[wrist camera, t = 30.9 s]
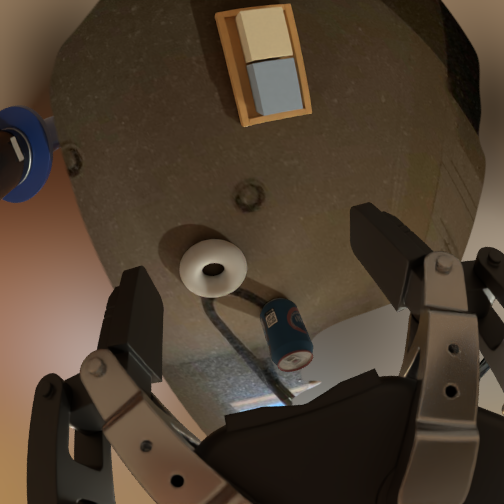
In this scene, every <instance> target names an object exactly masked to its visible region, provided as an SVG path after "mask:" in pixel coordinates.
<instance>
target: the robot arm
mask: <svg viewBox="0 0 504 504" xmlns="http://www.w3.org/2000/svg"><path fill="white" fill-rule="evenodd" d="M32 163H33V151H32V146H31V143H30V141H29V139H28V137H27V135H26V134H25V133H24V132H23V131H22V130H20V129H19V128H16V127H7V128H5V129H2V130H1V131H0V200H1V199H2V198H3V197H4V196H5V195H7V194H8V193H9V192H10V191H11V190H13V189H14V188H15V187H16V186H18V185H19V184H21V183H22V182H23V181H24V180H25V179H26V178H27V177H28V175H29V173H30V171H31V168H32ZM350 243H351V247H352V250H353V253H354V254H355V256H356V257H357V258H358V260H359V261H360V262H361V264H362V265H363V266H364V268H365V269H366V270H367V271H368V273H369V274H370V275H371V277H372V278H373V279H374V281H375V282H376V283H377V285H378V286H379V288H380V289H381V290H382V292H383V293H384V294H385V296H386V297H387V299H388V300H389V301H390V303H391V304H392V306H393V307H394V308H395V310H396V311H397V312H399V311H402V310H404V309H406V308H408V309H409V310H410V316H409V323H408V332H407V339H406V347H405V354H404V359H403V364H402V367H401V370H400V373H399V376H382V377H379V376H378V374H377V372H376V370H375V369H372V370H370V371H367V372H365V373H363V374H360V375H358V376H355V377H353V378H350V379H348V380H345V381H342V382H340V383H339V384H337V385H336V386H334V387H332V388H331V389H329V390H328V391H326V392H325V393H323V394H322V395H320V396H318V397H317V398H315V399H314V400H312V401H310V402H309V403H307V404H304V405H294V406H274V407H260V408H256V409H252V410H247V411H243V412H239V413H234V414H229V415H224V416H225V422H226V425H225V426H223V427H221V428H219V429H217V430H216V431H214V432H213V433H211V434H210V435H209V436H207V437H206V438H205V439H204V440H203V441H200V440H199V439H198V438H197V437H196V436H195V435H193V434H192V433H191V432H190V431H189V430H187V429H186V428H185V427H184V426H183V425H182V424H181V423H180V422H179V421H178V420H177V419H176V418H175V417H174V416H173V415H172V414H171V412H170V411H169V410H168V409H167V408H166V407H164V405H163V404H162V403H161V402H160V401H159V400H158V398H157V397H156V396H155V395H154V394H153V393H152V392H151V383H157V382H162V339H163V312H164V308H163V302H162V299H161V296H160V294H159V292H158V291H157V289H156V287H155V285H154V284H153V282H152V280H151V278H150V276H149V274H148V273H147V271H146V269H145V268H144V267H143V266H138V267H135V268H132V269H128V270H125V271H124V272H123V274H122V278H121V282H120V286H117V287H115V289H114V290H113V292H112V293H111V295H110V296H109V299H108V303H107V306H106V311H105V315H104V319H103V323H102V328H101V332H100V338H99V342H98V347H97V350H96V351H94V352H92V353H90V354H89V355H88V356H87V357H86V358H85V360H84V361H83V363H82V365H81V368H80V373H79V374H77V375H75V376H73V377H71V378H69V379H67V380H65V381H64V380H63V379H62V378H60V377H59V376H58V375H57V374H54V373H51V374H48V375H46V376H44V377H43V378H42V379H41V380H40V382H39V383H38V385H37V387H36V390H35V395H34V401H33V407H32V414H31V422H30V430H29V440H28V455H27V501H28V504H116V502H115V496H114V485H113V475H112V460H111V445H112V447H113V449H114V450H115V451H116V453H117V454H118V456H119V457H120V459H121V460H122V461H123V463H124V464H125V466H126V467H127V468H128V470H129V471H130V472H131V473H132V475H133V476H134V477H135V479H136V480H137V481H138V482H139V484H140V485H141V486H142V487H143V488H144V490H145V491H146V492H147V493H148V494H149V496H150V497H151V498H152V499H153V500H154V501H155V502H156V503H157V504H504V416H501V415H499V414H496V413H494V412H491V411H488V410H486V409H483V408H481V407H478V396H479V350H480V351H481V353H482V355H483V356H484V358H485V360H486V361H487V363H488V365H489V366H490V368H491V370H492V372H493V373H494V375H495V377H496V379H497V381H498V382H499V384H500V386H501V388H502V390H503V392H504V323H503V322H502V320H501V319H500V317H499V316H498V315H497V313H496V312H495V311H494V309H493V308H492V305H493V303H494V301H495V299H497V300H498V301H499V303H500V304H501V305H502V307H503V308H504V254H503V253H502V252H501V251H499V250H497V249H495V248H492V247H484V248H481V249H480V250H479V252H478V254H477V258H476V260H474V261H465V262H460V261H459V260H458V258H456V257H455V256H454V255H452V254H450V253H448V252H444V251H434V252H433V251H432V250H431V249H430V248H429V247H428V246H427V245H426V244H425V243H424V242H423V241H422V240H421V239H420V238H419V237H418V236H417V235H416V234H414V233H413V232H412V231H410V229H409V228H408V227H407V226H406V225H405V226H404V224H403V223H402V222H401V221H400V220H399V219H398V218H397V217H395V216H393V215H391V214H389V213H386V212H381V211H380V210H379V209H378V208H376V207H375V206H374V205H373V204H372V203H370V202H368V203H364V204H360V205H357V206H353V207H351V209H350ZM502 414H503V415H504V405H503V406H502ZM69 426H70V427H71V428H73V429H75V438H74V439H75V441H74V460H73V459H72V458H71V456H70V454H69V449H68V444H69Z"/></svg>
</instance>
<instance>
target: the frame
mask: <svg viewBox="0 0 504 504" xmlns="http://www.w3.org/2000/svg"><path fill="white" fill-rule="evenodd" d="M271 7H282V9H283V13H284V17H285V21H286V25H287V29H288V34H289V38H290V42H291V47H292V52H293V55H290V56H286V57H281V58H273V59H267V60H260V61H254V62H249V63H245V60H244V55H243V51H242V47H241V43H240V39H239V35H238V31H237V27H236V23H235V18H236V16H237V15H238V13H239V12H240V11H245V10H252V9H261V8H271ZM215 20H216V24H217V28H218V31H219V35H220V39H221V43H222V47H223V51H224V56H225V60H226V64H227V68H228V72H229V76H230V80H231V84H232V88H233V93H234V97H235V101H236V105H237V109H238V114H239V118H240V122H241V125H242V126H243V127H245V126H249V125H254V124H258V123H263V122H268V121H273V120H278V119H283V118H288V117H294V116H299V115H305V114H311V113H312V108H311V102H310V96H309V90H308V84H307V79H306V73H305V68H304V63H303V57H302V52H301V48H300V43H299V38H298V34H297V29H296V25H295V21H294V17H293V12H292V8H291V4H278V5H266V6H256V7H248V8H241V9H234V10H228V11H223V12H217V13H216V14H215ZM286 58H294V62H295V67H296V72H297V77H298V82H299V88H300V93H301V99H302V105H303V109H297V110H292V111H286V112H281V113H275V114H270V115H266V116H263V115H262V114H260V113H258V112H256V109H255V104H254V100H253V95H252V91H251V86H250V82H249V78H248V73H247V69H246V65H250V64H253V63H259V62H265V61H271V60H278V59H286Z"/></svg>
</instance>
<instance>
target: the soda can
mask: <svg viewBox="0 0 504 504" xmlns="http://www.w3.org/2000/svg"><path fill="white" fill-rule="evenodd" d="M260 320H261V324H262V327H263V331H264V334H265V338H266V341H267V344H268V348H269V351H270V355H271V358H272V361H273V362H274V363H275V364H276V365H277V366H278V368H279V369H280V370H281V371H285V372H292V371H296V370H299V369H302V368H304V367H305V366H307V365H308V364H309V363H310V362H311V361H312V359H313V354H312V353H313V344H312V342H311V340H310V337H309V335H308V332H307V330H306V328H305V325H304V323H303V320H302V318H301V316H300V313H299V311H298V309H297V306H296V305H295V304H294V303H293V302H292V301H290V300H288V299H285V298H276V299H273V300H271V301H269V302H268V303H266V304H265V306H264V307H263V309H262V311H261V314H260Z"/></svg>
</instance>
